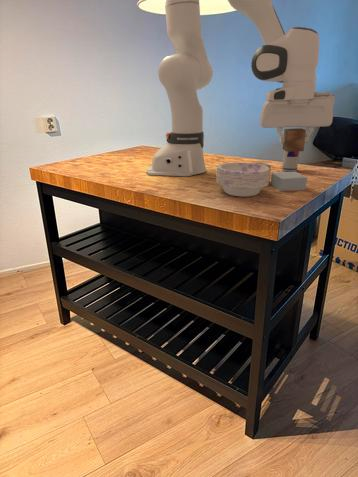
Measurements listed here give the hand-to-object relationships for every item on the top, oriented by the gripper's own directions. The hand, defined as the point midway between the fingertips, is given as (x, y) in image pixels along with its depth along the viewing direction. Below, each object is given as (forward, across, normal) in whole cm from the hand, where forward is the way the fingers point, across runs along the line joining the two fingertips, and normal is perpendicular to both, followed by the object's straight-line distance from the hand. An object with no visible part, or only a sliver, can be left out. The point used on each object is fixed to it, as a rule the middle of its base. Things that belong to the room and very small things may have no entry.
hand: (293, 142), depth 106 cm
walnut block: (+2, 0, 0) cm, 2 cm away
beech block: (+13, +8, -6) cm, 17 cm away
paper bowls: (+14, +16, +6) cm, 22 cm away
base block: (+14, 0, 0) cm, 14 cm away
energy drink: (+14, -6, -23) cm, 27 cm away
